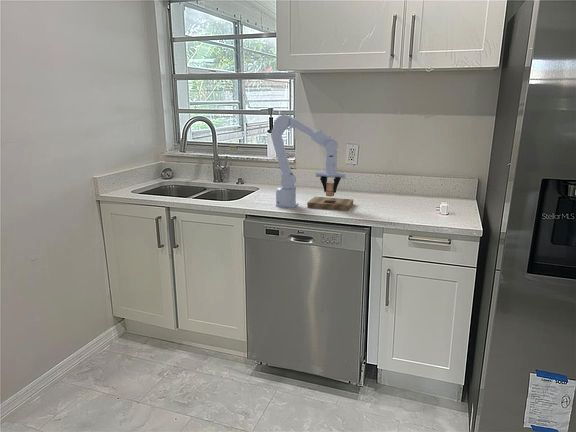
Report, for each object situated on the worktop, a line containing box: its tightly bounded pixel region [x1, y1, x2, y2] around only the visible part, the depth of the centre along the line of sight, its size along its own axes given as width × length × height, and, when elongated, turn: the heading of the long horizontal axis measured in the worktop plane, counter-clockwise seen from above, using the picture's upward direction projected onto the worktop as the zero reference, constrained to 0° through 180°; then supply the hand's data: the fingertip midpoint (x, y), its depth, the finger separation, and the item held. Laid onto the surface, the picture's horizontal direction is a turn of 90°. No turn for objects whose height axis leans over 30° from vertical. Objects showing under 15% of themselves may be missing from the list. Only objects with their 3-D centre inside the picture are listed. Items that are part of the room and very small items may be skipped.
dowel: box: [325, 182, 335, 197], centre depth 207 cm, size 4×4×6 cm
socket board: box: [306, 196, 354, 212], centre depth 211 cm, size 20×14×2 cm
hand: (330, 192), depth 207 cm, fingers closed on dowel, 4 cm apart
